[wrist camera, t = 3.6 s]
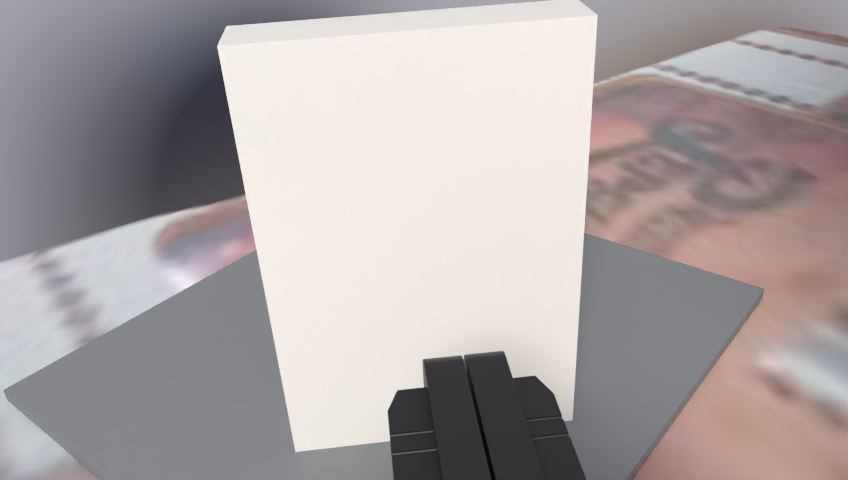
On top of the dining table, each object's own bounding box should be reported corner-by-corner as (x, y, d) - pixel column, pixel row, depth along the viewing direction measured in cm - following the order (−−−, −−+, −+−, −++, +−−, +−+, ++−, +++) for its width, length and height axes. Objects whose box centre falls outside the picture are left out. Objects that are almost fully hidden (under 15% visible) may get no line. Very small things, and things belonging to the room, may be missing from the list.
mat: (394, 181, 47) (393, 173, 46) (762, 298, 34) (764, 288, 34) (7, 399, 31) (3, 390, 31) (428, 763, 18) (426, 751, 18)
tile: (572, 420, 27) (597, 15, 20) (295, 452, 27) (217, 45, 20) (556, 378, 29) (574, -5, 22) (298, 407, 29) (227, 23, 22)
